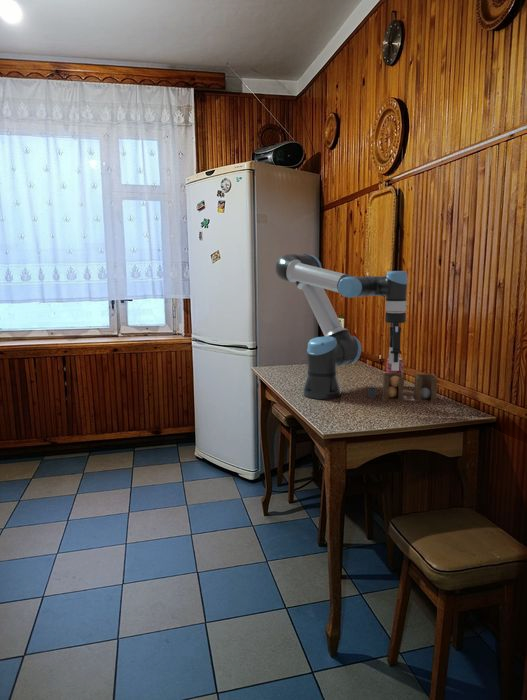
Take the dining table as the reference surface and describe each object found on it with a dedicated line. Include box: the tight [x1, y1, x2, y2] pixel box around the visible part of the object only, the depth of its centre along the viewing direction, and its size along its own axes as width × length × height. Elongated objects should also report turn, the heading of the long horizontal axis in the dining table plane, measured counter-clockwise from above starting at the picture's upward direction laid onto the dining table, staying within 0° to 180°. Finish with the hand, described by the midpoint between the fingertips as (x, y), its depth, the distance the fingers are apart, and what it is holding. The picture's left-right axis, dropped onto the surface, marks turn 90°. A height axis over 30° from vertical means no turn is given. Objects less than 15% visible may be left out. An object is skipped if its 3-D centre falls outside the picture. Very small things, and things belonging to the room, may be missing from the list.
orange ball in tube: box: [389, 386, 397, 398], centre depth 183 cm, size 4×4×4 cm
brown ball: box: [389, 376, 399, 387], centre depth 183 cm, size 4×4×4 cm
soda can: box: [385, 357, 404, 375], centre depth 201 cm, size 7×7×13 cm
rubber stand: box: [367, 387, 377, 399], centre depth 184 cm, size 3×3×4 cm
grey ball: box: [421, 388, 431, 399], centre depth 180 cm, size 4×4×4 cm
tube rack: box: [381, 372, 438, 403], centre depth 181 cm, size 20×7×10 cm, turn 79°
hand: (393, 367), depth 181 cm, fingers open, 13 cm apart
